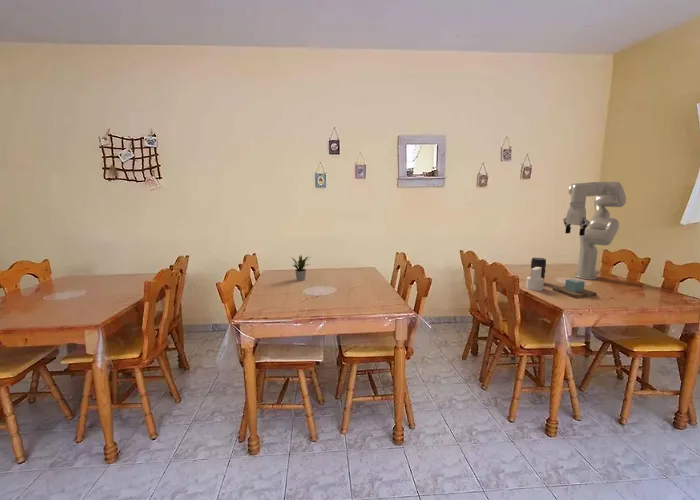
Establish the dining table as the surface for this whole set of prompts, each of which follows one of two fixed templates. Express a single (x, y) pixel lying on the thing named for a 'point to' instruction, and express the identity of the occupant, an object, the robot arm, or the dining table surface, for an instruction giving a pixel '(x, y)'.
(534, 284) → the light grey stepped block
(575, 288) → the teal tissue box
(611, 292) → the dining table surface
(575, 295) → the shaft block
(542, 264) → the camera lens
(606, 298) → the dining table surface
